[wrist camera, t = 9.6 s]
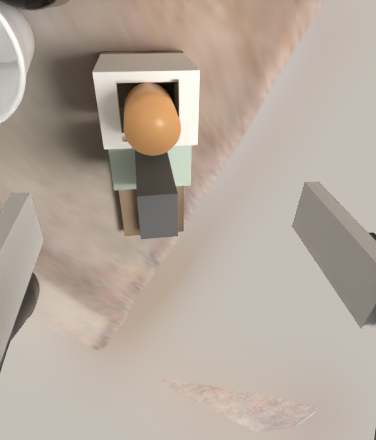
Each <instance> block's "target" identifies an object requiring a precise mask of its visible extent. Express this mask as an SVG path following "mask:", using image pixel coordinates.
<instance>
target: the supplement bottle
mask: <svg viewBox="0 0 376 440" xmlns="http://www.w3.org/2000/svg"><path fill="white" fill-rule="evenodd" d="M0 1H1V2H3V3H5V4H7V5H9V6H12V7H15V8H18V9H24V10H38V9H44V8H50V7H55V6H59V5H62V4H64V3H66V2H68V1H69V0H0Z"/></svg>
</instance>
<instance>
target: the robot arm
mask: <svg viewBox="0 0 376 440" xmlns="http://www.w3.org/2000/svg"><path fill="white" fill-rule="evenodd" d="M292 227H293V228H294V230H295V231H296V233H297V234H298V236H299V237H300V238H301V240H302V242H303V243H304V245H305V246H306V248H307V249H308V251H309V252H310V254H311V255H312V256H313V258H314V259H315V261H316V262H317V264H318V265H319V267H320V268H321V270H322V271H323V273H324V274H325V276H326V277H327V279H328V280H329V282H330V283H331V285H332V286H333V288H334V289H335V291H336V292H337V294H338V295H339V297H340V298H341V300H342V301H343V303H344V304H345V306H346V307H347V309H348V310H349V312H350V313H351V314H352V316H353V317H354V319H355V321H356V322H357V324H358V325H359V327H360V328H361V329H367V328H376V234H375V233H368V232H367V231H366V230H365V229H364V228H363V227H362V226H361V225H360V224H359V223H358V222H357V221H356V220H355V219H354V218H353V217H352V216H351V215H350V213H349V212H348V211H346V209H345V208H344V207H343V206H342V205H341V204H340V203H339V202H338V201H337V200H336V199H335V198H334V197H333V196H332V195H331V194H330V193H329V192H328V191H327V190H326V189H325V188H324V186H322V184H321V183H320V182H305V183H304V187H303V190H302V194H301V197H300V201H299V204H298V208H297V211H296V215H295V218H294V222H293V225H292ZM43 241H44V239H43V236H42V233H41V229H40V226H39V222H38V219H37V216H36V212H35V209H34V205H33V202H32V198H31V195H30V193H11V195H10V197H9V198H8V200H7V202H6V203H5V205H4V207H3V209H2V210H1V212H0V371H1V368H2V365H3V362H4V359H5V356H6V352H7V349H8V346H9V344H10V341H11V339H12V338H13V337H14V336H15V334H16V333H17V332H18V331H19V329H20V328H21V327H22V325H23V324H24V322H25V321H26V320H27V318H28V317H29V316H30V315H31V314H32V312H33V311H34V309H35V306H36V303H37V300H38V296H39V283H38V280H37V278H36V276H35V275H34V273H33V269H34V267H35V264H36V261H37V258H38V255H39V252H40V250H41V247H42V244H43ZM374 440H376V431H375V439H374Z"/></svg>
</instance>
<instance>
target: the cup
mask: <svg viewBox="0 0 376 440" xmlns="http://www.w3.org/2000/svg"><path fill="white" fill-rule="evenodd" d="M34 50H35V42H34V36H33V33H32V29H31V27H30V25H29V23H28V21H27V20H26V19H25V17H24V16H23V14H22V13H21V12H20V11H19V10H18V9H17V8H15V7H12V6H9V5H7V4H5V3H3V2H1V1H0V123H2V122H3V121H5V120H7V119H8V118H9V117H10V116H11V115H12V114H13V113H14V112H15V111H16V109H17V108H18V106H19V104H20V102H21V100H22V98H23V94H24V90H25V86H26V75H27V72H28V70H29V67H30V64H31V61H32V58H33V55H34Z"/></svg>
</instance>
